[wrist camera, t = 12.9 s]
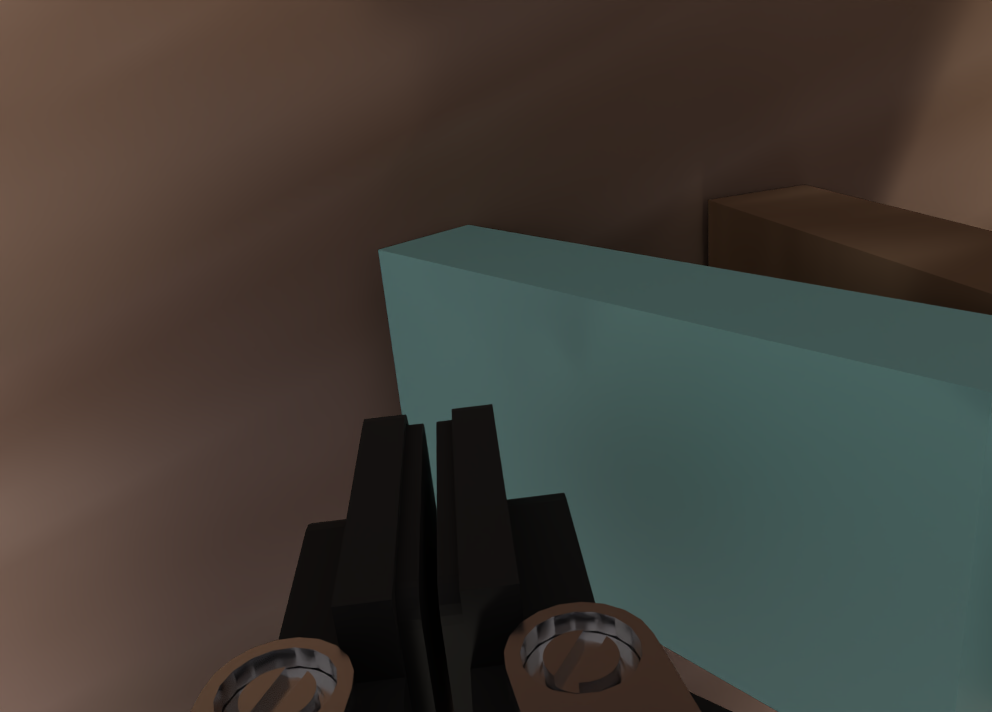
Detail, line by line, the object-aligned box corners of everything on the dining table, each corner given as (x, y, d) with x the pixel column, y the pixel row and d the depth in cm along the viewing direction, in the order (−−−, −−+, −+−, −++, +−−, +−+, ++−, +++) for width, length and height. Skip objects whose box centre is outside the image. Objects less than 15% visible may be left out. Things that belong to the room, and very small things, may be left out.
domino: (804, 184, 17) (1497, 357, 8) (797, 425, 18) (1350, 798, 9) (707, 200, 16) (1321, 403, 7) (710, 445, 18) (1202, 857, 9)
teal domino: (467, 224, 16) (1076, 329, 9) (493, 464, 18) (1018, 709, 11) (377, 249, 15) (991, 392, 8) (414, 502, 17) (944, 807, 10)
